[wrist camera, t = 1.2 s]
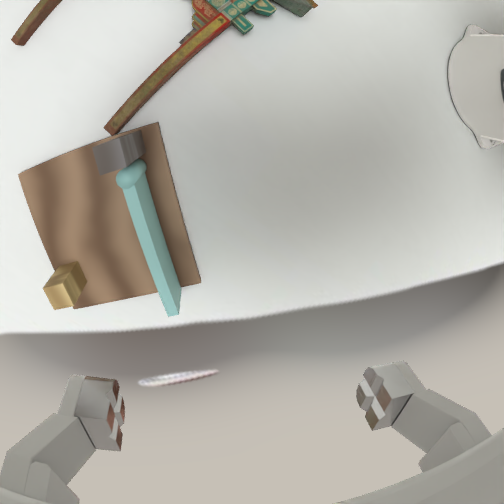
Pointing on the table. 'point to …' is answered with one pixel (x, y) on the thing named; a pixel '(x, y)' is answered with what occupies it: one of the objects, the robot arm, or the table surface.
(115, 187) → the gate frame
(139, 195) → the gate
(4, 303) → the table surface
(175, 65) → the miniature gate
